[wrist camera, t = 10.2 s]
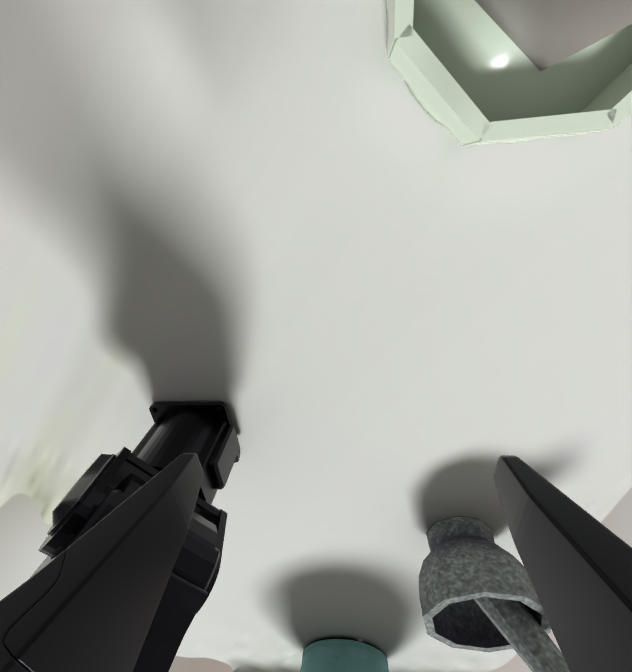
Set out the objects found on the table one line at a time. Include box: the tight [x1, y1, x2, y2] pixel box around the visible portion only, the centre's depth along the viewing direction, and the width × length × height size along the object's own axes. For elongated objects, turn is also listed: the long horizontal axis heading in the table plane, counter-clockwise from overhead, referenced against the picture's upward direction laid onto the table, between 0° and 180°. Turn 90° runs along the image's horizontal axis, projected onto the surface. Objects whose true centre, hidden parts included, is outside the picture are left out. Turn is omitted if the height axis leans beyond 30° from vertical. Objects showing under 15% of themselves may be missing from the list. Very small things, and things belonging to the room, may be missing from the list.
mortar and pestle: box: [419, 516, 570, 672], centre depth 26 cm, size 11×9×12 cm
